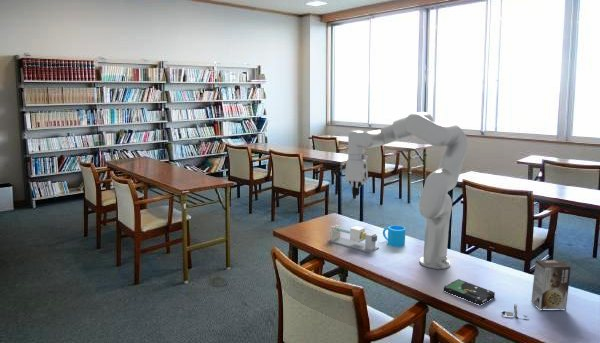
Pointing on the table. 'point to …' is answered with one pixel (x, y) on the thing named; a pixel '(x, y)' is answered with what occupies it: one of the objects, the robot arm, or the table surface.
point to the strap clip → (511, 312)
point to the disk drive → (469, 291)
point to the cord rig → (367, 247)
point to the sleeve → (356, 233)
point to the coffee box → (550, 284)
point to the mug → (395, 235)
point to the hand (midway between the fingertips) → (355, 195)
